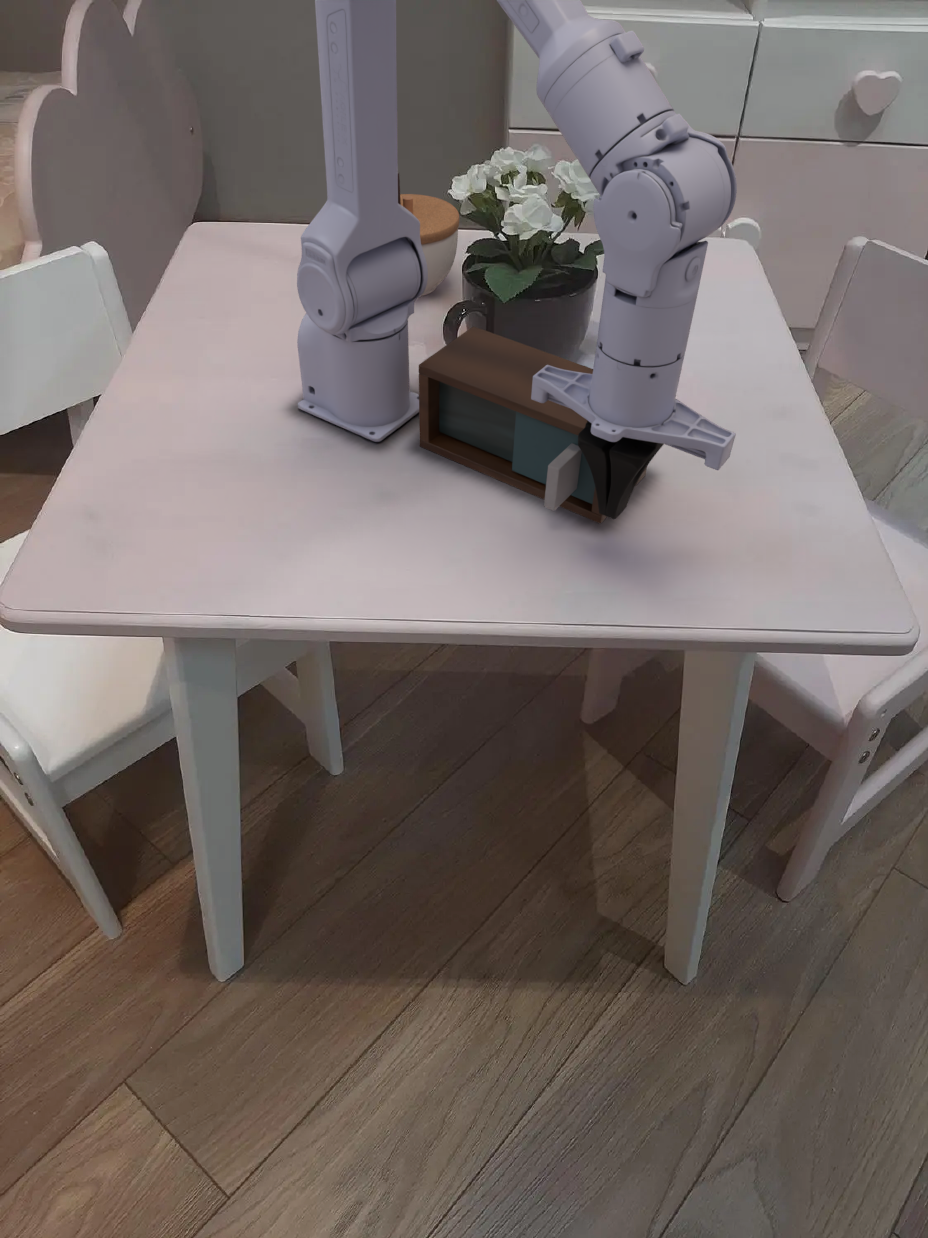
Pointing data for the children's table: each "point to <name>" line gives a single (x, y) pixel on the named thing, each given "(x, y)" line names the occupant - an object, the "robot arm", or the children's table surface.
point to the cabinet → (491, 407)
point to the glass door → (551, 461)
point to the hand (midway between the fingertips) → (612, 509)
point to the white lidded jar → (435, 234)
